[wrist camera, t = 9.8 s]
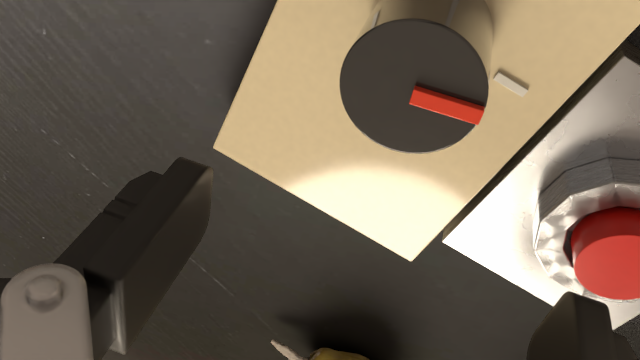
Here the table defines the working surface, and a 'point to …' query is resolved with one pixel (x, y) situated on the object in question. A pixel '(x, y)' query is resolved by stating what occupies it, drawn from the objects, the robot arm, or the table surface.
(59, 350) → the robot arm
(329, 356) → the fruit
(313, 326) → the table surface
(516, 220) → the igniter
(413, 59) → the knob
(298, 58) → the panel
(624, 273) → the button
